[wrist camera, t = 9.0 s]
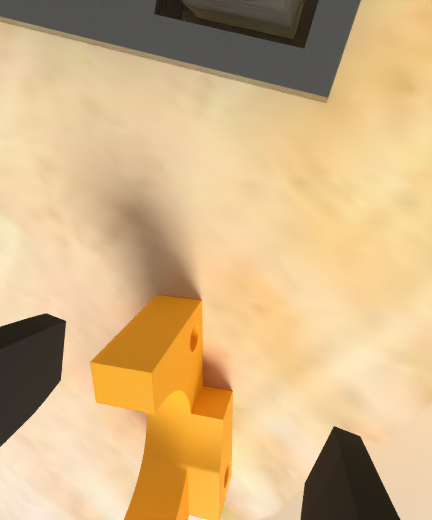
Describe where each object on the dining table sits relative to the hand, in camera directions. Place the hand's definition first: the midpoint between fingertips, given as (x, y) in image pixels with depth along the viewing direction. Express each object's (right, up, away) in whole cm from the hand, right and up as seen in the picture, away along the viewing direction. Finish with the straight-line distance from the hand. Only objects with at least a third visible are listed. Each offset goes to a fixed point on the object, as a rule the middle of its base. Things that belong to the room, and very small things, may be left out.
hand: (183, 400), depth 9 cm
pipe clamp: (0, -4, +12) cm, 13 cm away
